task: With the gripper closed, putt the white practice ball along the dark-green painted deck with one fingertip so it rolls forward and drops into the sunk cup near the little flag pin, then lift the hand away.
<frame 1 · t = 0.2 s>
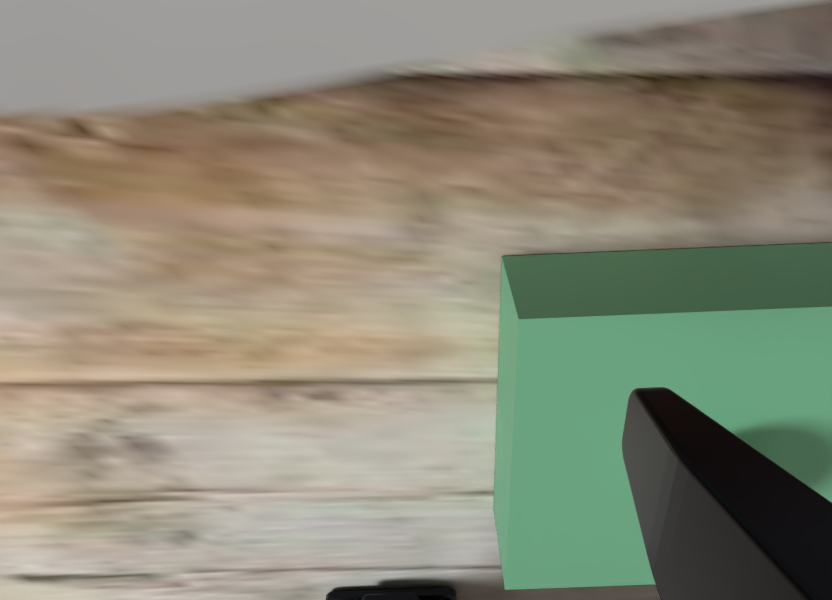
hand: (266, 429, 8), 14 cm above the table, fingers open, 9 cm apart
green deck: (822, 387, 26), on the table
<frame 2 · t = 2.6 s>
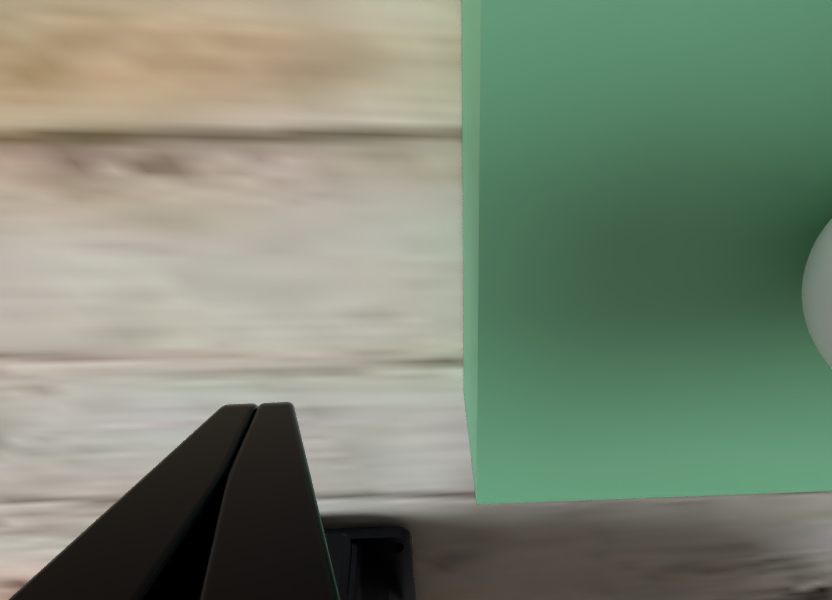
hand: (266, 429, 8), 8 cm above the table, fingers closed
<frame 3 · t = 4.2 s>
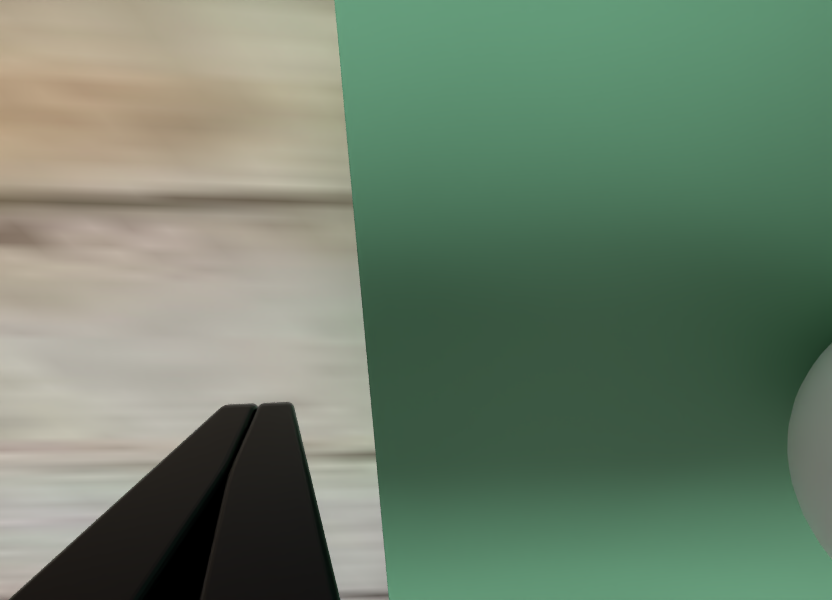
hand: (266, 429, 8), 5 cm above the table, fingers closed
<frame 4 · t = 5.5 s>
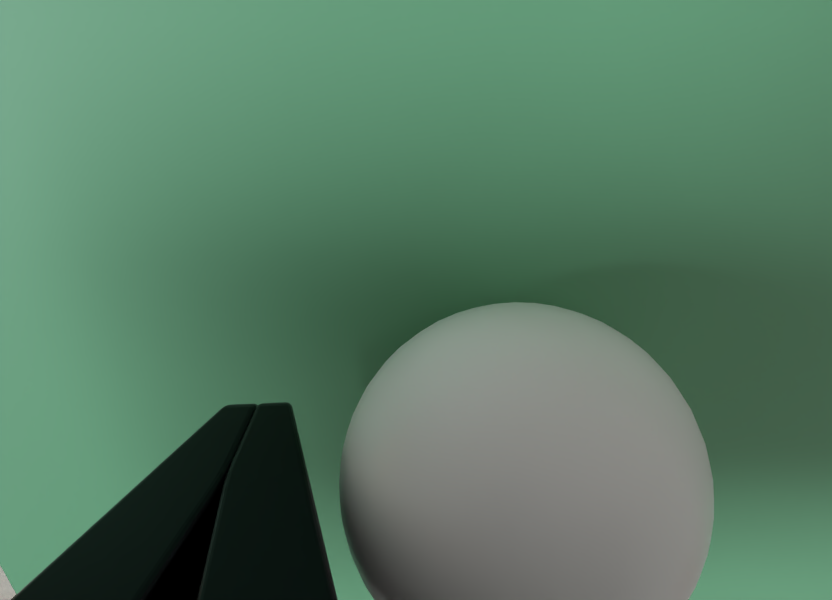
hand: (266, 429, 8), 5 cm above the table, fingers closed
ball: (500, 372, 9), point 4 cm above the table, touching gripper
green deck: (718, 239, 12), on the table
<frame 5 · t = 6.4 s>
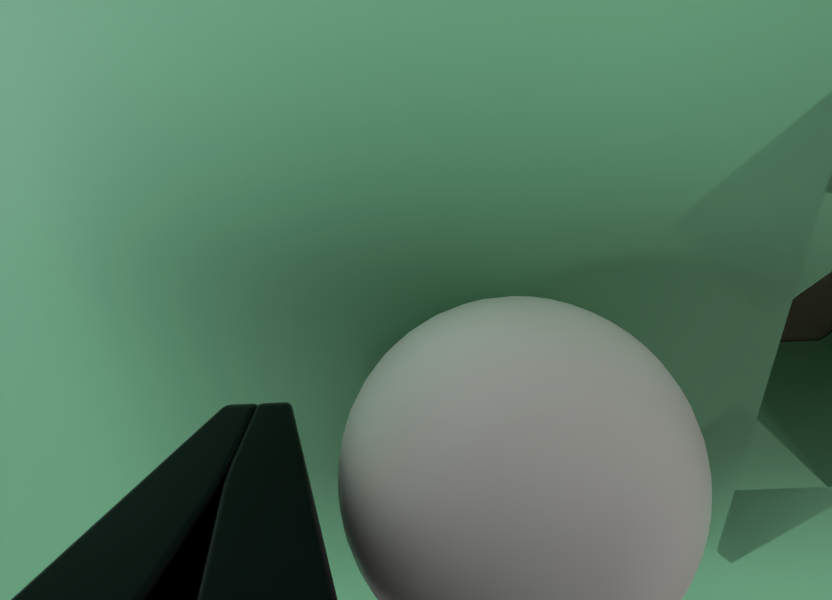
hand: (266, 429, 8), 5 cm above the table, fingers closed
ball: (564, 372, 9), point 4 cm above the table, tilted 27°, touching gripper
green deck: (438, 248, 12), on the table
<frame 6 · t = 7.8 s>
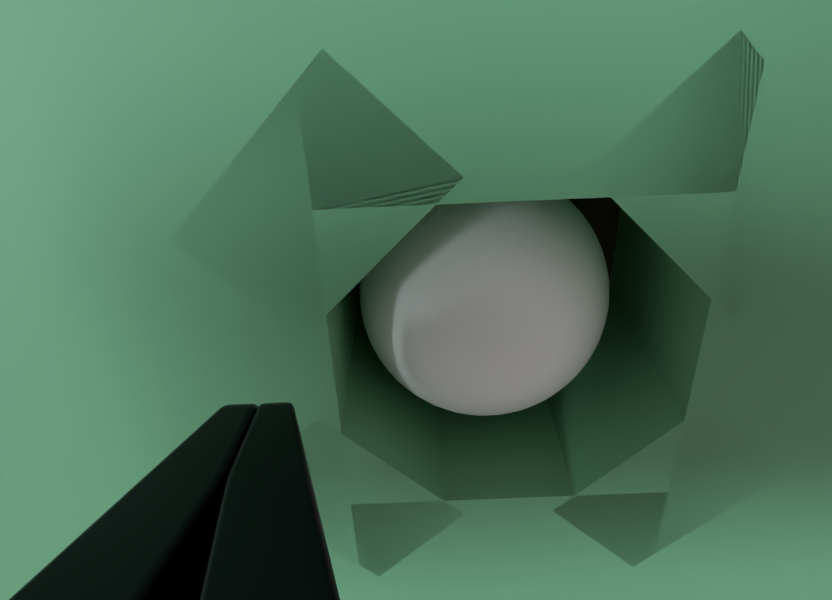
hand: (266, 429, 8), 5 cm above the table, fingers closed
ball: (412, 246, 12), resting in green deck, tilted 34°
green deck: (120, 259, 12), on the table
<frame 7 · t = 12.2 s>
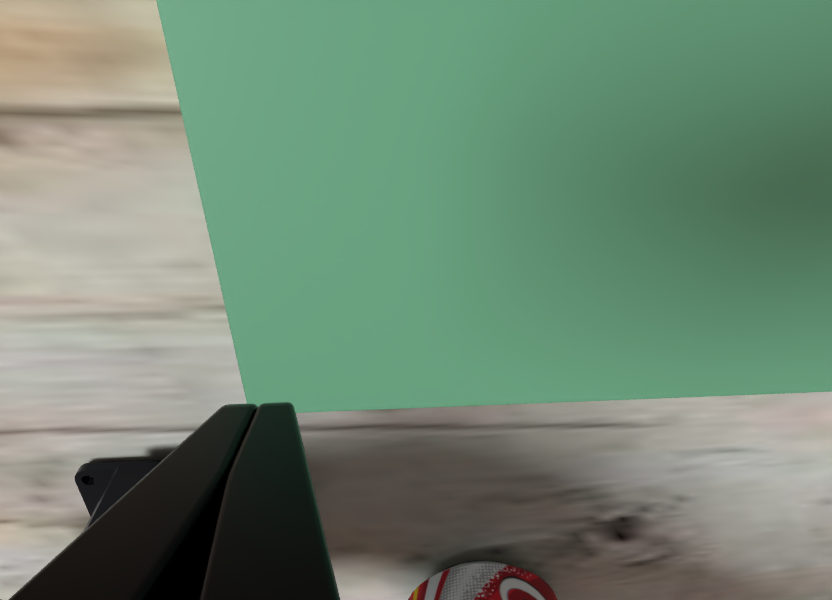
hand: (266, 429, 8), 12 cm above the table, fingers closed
soda can: (479, 592, 29), on the table
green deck: (699, 124, 18), on the table
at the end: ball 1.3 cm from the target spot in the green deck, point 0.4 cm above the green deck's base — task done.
